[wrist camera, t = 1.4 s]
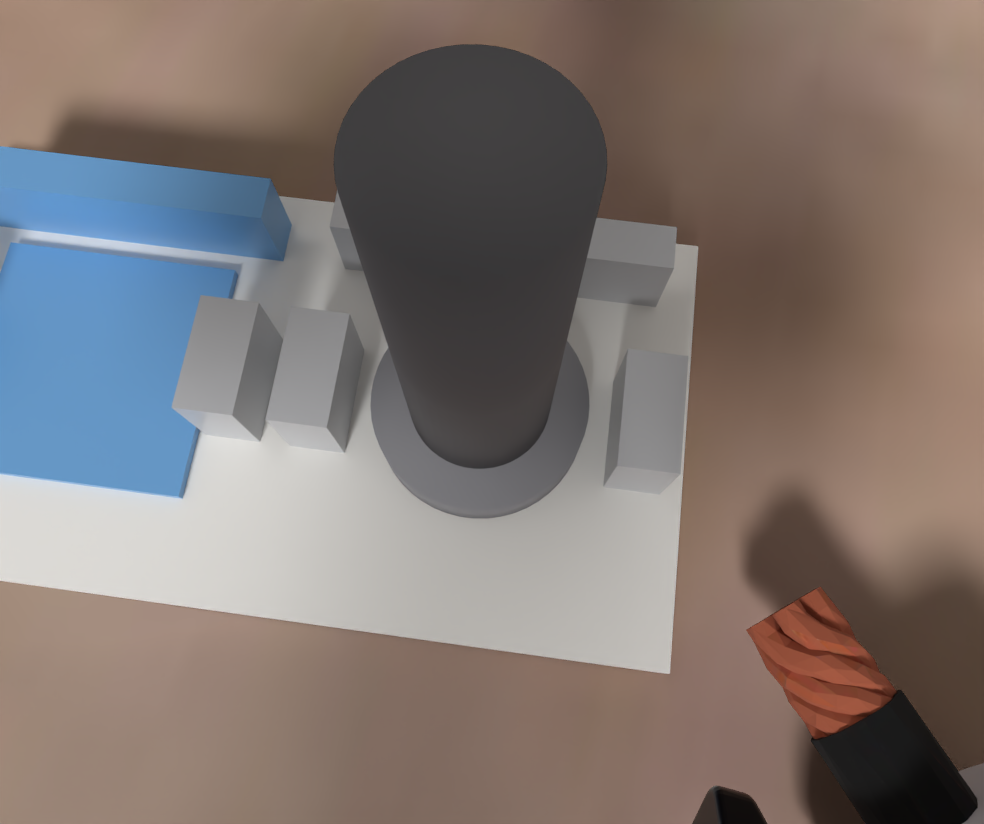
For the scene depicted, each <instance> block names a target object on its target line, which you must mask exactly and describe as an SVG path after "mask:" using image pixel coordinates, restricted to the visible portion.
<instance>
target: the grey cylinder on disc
mask: <svg viewBox="0 0 984 824" xmlns="http://www.w3.org/2000/svg"><path fill="white" fill-rule="evenodd" d="M606 171H607V151H606V145H605V140H604V135H603V132H602V129H601V126H600V123H599V121H598V119H597V117H596V115H595V113H594V111H593V109H592V107H591V105H590V104H589V103H588V101H587V100H586V99H585V97H584V96H583V94H582V93H581V92H580V91H579V90H578V89H577V88H576V87H575V86H574V85H573V84H572V82H570V81H569V80H568V79H567V78H566V77H564V76H563V75H562V74H561V73H560V72H558V71H557V70H555V69H554V68H552V67H550V66H549V65H547V64H546V63H544V62H542V61H540V60H538V59H536V58H533V57H531V56H529V55H526V54H523V53H520V52H518V51H515V50H511V49H506V48H502V47H497V46H489V45H454V46H445V47H441V48H436V49H432V50H428V51H425V52H422V53H419V54H416V55H413V56H411V57H409V58H407V59H405V60H403V61H400V62H398V63H397V64H395V65H394V66H392V67H390V68H389V69H387V70H385V71H384V72H383V73H381V74H380V75H379V76H378V77H376V78H375V79H374V80H373V81H372V82H371V83H370V84H369V85H368V86H367V87H366V88H365V89H364V90H363V91H362V92H361V93H360V94H359V96H358V97H357V98H356V100H355V101H354V102H353V104H352V105H351V107H350V108H349V110H348V112H347V114H346V116H345V118H344V119H343V122H342V125H341V127H340V130H339V133H338V136H337V141H336V145H335V152H334V174H335V182H336V186H337V190H338V194H339V198H340V201H341V204H342V207H343V210H344V213H345V216H346V219H347V222H348V225H349V228H350V231H351V234H352V237H353V241H354V244H355V247H356V250H357V253H358V256H359V259H360V262H361V265H362V268H363V271H364V274H365V277H366V280H367V283H368V286H369V289H370V293H371V296H372V299H373V302H374V305H375V308H376V311H377V314H378V317H379V320H380V323H381V326H382V329H383V332H384V335H385V338H386V341H387V345H388V349H387V350H386V352H385V353H384V355H383V357H382V359H381V361H380V363H379V365H378V368H377V371H376V374H375V377H374V380H373V385H372V391H371V405H370V407H371V419H372V424H373V428H374V433H375V436H376V438H377V441H378V443H379V446H380V448H381V450H382V452H383V454H384V456H385V458H386V460H387V462H388V463H389V465H390V467H391V469H392V471H393V472H394V474H395V475H396V476H397V478H398V479H399V480H400V482H401V483H402V484H403V485H404V486H405V487H406V488H407V489H408V490H409V491H410V492H411V493H412V494H413V495H415V496H416V497H417V498H418V499H420V500H421V501H423V502H424V503H426V504H428V505H429V506H431V507H433V508H435V509H438V510H440V511H442V512H445V513H448V514H451V515H455V516H459V517H466V518H495V517H502V516H505V515H509V514H513V513H516V512H518V511H521V510H523V509H526V508H528V507H529V506H531V505H533V504H535V503H536V502H538V501H540V500H541V499H542V498H544V497H545V496H546V495H548V494H549V493H550V492H551V491H552V490H553V489H554V488H555V487H556V486H557V485H558V484H559V483H560V482H561V480H562V479H563V478H564V476H565V475H566V474H567V472H568V470H569V469H570V467H571V465H572V463H573V462H574V459H575V457H576V455H577V452H578V450H579V448H580V445H581V443H582V440H583V438H584V435H585V431H586V427H587V423H588V417H589V407H590V406H589V390H588V385H587V379H586V376H585V373H584V370H583V367H582V365H581V363H580V361H579V358H578V356H577V354H576V353H575V351H574V350H573V348H572V347H571V345H570V344H569V342H568V341H567V338H568V334H569V330H570V326H571V321H572V317H573V313H574V309H575V305H576V301H577V297H578V292H579V288H580V284H581V280H582V276H583V272H584V268H585V263H586V259H587V255H588V251H589V247H590V243H591V239H592V234H593V230H594V226H595V222H596V218H597V214H598V210H599V205H600V201H601V197H602V193H603V189H604V185H605V181H606Z"/></svg>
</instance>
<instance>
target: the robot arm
mask: <svg viewBox="0 0 984 824" xmlns="http://www.w3.org/2000/svg"><path fill="white" fill-rule="evenodd" d="M692 824H767V822H766V820H765V818H764V817H763V815H762V813H761V811H760V809H759V808H758V806H757V804H756V802H755V801H754V800H753V799H752V798H751V797H750V796H749V795H748V794H745V793H743V792H739V791H736V790H732V789H728V788H725V787H721V786H713V787H712V788H711V789H710V790H709V791H708V793H707V794H706V796H705V798H704V800H703V803H702V805H701V807H700V809H699V811H698V813H697V815H696V817H695V819H694V821H693V823H692Z"/></svg>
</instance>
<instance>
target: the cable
mask: <svg viewBox="0 0 984 824" xmlns="http://www.w3.org/2000/svg"><path fill="white" fill-rule="evenodd" d="M746 631H747V632H748V634H749V635H750V637H751V638H752V640H753V641H754V643H755V645H756V647H757V649H758V651H759V653H760V655H761V657H762V659H763V661H764V664H765V666H766V668H767V669H768V670H769V672H770V673H771V674H772V675H773V676H774V678H775V679H776V680H777V681H778V682H779V684H780V685H781V686H782V687H783V689H784V692H785V694H786V696H787V699H788V701H789V703H790V704H791V705H792V707H793V708H794V709H795V710H796V712H797V713H798V714H799V716H800V717H801V718H802V720H803V721H804V722H805V724H806V726H807V728H808V730H809V732H810V733H811V735H812V739H811V741H812V743H813V744H814V746H815V747H816V749H817V751H818V752H819V754H820V755H821V757H822V758H823V760H824V761H825V763H826V764H827V766H828V767H829V769H830V770H831V772H832V773H833V775H834V776H835V778H836V779H837V781H838V782H839V784H840V786H841V787H842V789H843V790H844V792H845V793H846V795H847V796H848V798H849V799H850V801H851V802H852V804H853V805H854V807H855V808H856V810H857V811H858V813H859V814H860V816H861V817H862V819H863V821H864V822H865V824H984V763H982V764H979V765H976V766H972V767H969V768H966V769H963V770H961V771H959V772H958V770H957V769H956V767H955V766H954V765H953V763H952V762H951V760H950V759H949V758H948V756H947V755H946V753H945V752H944V750H943V749H942V748H941V746H940V745H939V743H938V742H937V740H936V739H935V738H934V736H933V735H932V733H931V732H930V730H929V729H928V728H927V726H926V725H925V723H924V722H923V720H922V719H921V718H920V716H919V715H918V713H917V712H916V711H915V709H914V708H913V706H912V705H911V703H910V702H909V701H908V699H907V698H906V696H905V695H904V693H903V692H902V691H901V690H895V689H894V687H893V686H892V685H891V683H890V682H889V681H888V679H887V678H886V677H885V675H883V674H881V673H880V672H879V670H878V667H877V665H876V662H875V660H874V658H873V657H872V656H871V655H870V654H869V653H868V652H867V651H866V650H865V649H864V648H863V647H862V646H861V645H860V643H859V642H858V641H857V640H856V638H855V636H854V634H853V632H852V629H851V627H850V625H849V623H848V621H847V620H846V619H845V617H844V616H843V615H842V614H841V612H840V611H839V610H838V608H837V607H836V606H835V605H834V603H833V602H832V601H831V600H830V598H829V597H828V596H827V595H826V593H825V592H824V591H823V589H822V588H821V587H819V588H817V589H814V590H813V591H811V592H809V593H807V594H806V595H804V596H802V597H801V598H799V599H797V600H796V601H794V602H792V603H791V604H789V605H787V606H785V607H784V608H782V609H780V610H779V611H777V612H775V613H774V614H772V615H770V616H769V617H767V618H765V619H764V620H762V621H760V622H759V623H757V624H755V625H754V626H752V627H750V628H749V629H747V630H746Z"/></svg>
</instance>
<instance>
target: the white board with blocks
mask: <svg viewBox="0 0 984 824" xmlns="http://www.w3.org/2000/svg"><path fill="white" fill-rule="evenodd" d="M676 235H677V227H671V226H663V225H655V224H646V223H638V222H630V221H621V220H613V219H604V218H596V222H595V226H594V230H593V234H592V239H591V243H590V247H589V251H588V255H587V259H586V263H585V268H584V272H583V276H582V280H581V284H580V288H579V292H578V297H577V301H576V305H575V309H574V313H573V317H572V321H571V326H570V330H569V334H568V338H567V341H568V342H569V344H570V345H571V347H572V348H573V350H574V351H575V353H576V354H577V356H578V358H579V361H580V363H581V365H582V367H583V370H584V373H585V376H586V379H587V385H588V390H589V406H590V407H589V417H588V423H587V427H586V431H585V435H584V438H583V440H582V443H581V445H580V448H579V450H578V452H577V455H576V457H575V459H574V462H573V463H572V465H571V467H570V469H569V470H568V472H567V474H566V475H565V476H564V478H563V479H562V480H561V482H560V483H559V484H558V485H557V486H556V487H555V488H554V489H553V490H552V491H551V492H550V493H549V494H548V495H546V496H545V497H544V498H542V499H541V500H540V501H538V502H536V503H535V504H533V505H531V506H529V507H528V508H526V509H523V510H521V511H518V512H516V513H513V514H509V515H505V516H502V517H495V518H466V517H459V516H455V515H451V514H448V513H445V512H442V511H440V510H438V509H435V508H433V507H431V506H429V505H428V504H426V503H424V502H423V501H421V500H420V499H418V498H417V497H416V496H415V495H413V494H412V493H411V492H410V491H409V490H408V489H407V488H406V487H405V486H404V485H403V484H402V483H401V482H400V480H399V479H398V478H397V476H396V475H395V474H394V472H393V471H392V469H391V467H390V465H389V463H388V462H387V460H386V458H385V456H384V454H383V452H382V450H381V448H380V446H379V443H378V441H377V438H376V436H375V433H374V428H373V424H372V419H371V407H370V405H371V391H372V385H373V380H374V377H375V374H376V371H377V368H378V365H379V363H380V361H381V359H382V357H383V355H384V353H385V352H386V350H387V349H388V345H387V341H386V338H385V335H384V332H383V329H382V326H381V323H380V320H379V317H378V314H377V311H376V308H375V305H374V302H373V299H372V296H371V293H370V289H369V286H368V283H367V280H366V277H365V274H364V271H363V268H362V265H361V262H360V259H359V256H358V253H357V250H356V247H355V244H354V241H353V237H352V234H351V231H350V228H349V225H348V222H347V219H346V216H345V213H344V210H343V207H342V204H341V201H340V198H339V194H338V190H337V194H336V198H335V203H334V202H325V201H317V200H309V199H301V198H292V197H284V196H278V193H277V191H276V189H275V187H274V185H273V183H272V180H271V179H269V178H261V177H253V176H244V175H236V174H228V173H219V172H211V171H202V170H194V169H186V168H177V167H169V166H161V165H152V164H144V163H135V162H127V161H119V160H110V159H102V158H94V157H85V156H77V155H68V154H60V153H52V152H43V151H35V150H27V149H18V148H10V147H1V146H0V581H5V582H12V583H19V584H26V585H33V586H40V587H48V588H55V589H62V590H69V591H76V592H83V593H90V594H98V595H105V596H112V597H119V598H126V599H133V600H141V601H148V602H155V603H162V604H169V605H176V606H184V607H191V608H198V609H205V610H212V611H219V612H226V613H234V614H241V615H248V616H255V617H262V618H269V619H277V620H284V621H291V622H298V623H305V624H312V625H320V626H327V627H334V628H341V629H348V630H355V631H362V632H370V633H377V634H384V635H391V636H398V637H405V638H413V639H420V640H427V641H434V642H441V643H448V644H455V645H463V646H470V647H477V648H484V649H491V650H498V651H506V652H513V653H520V654H527V655H534V656H541V657H549V658H556V659H563V660H570V661H577V662H584V663H591V664H599V665H606V666H613V667H620V668H627V669H634V670H642V671H649V672H656V673H665V674H670V663H671V648H672V633H673V619H674V604H675V589H676V574H677V559H678V544H679V529H680V514H681V499H682V484H683V469H684V454H685V439H686V424H687V409H688V394H689V379H690V364H691V349H692V334H693V319H694V304H695V289H696V274H697V259H698V246H692V245H683V244H676Z"/></svg>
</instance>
